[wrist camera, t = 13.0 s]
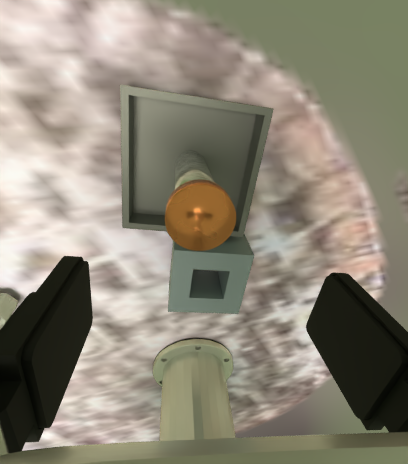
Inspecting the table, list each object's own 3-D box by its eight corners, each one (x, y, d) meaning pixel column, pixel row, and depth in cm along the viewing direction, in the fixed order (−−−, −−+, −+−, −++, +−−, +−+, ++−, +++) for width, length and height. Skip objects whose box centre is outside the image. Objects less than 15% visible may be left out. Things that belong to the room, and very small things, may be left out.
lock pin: (207, 188, 26) (229, 252, 15) (168, 184, 25) (162, 248, 15) (213, 148, 24) (242, 190, 13) (172, 143, 24) (167, 182, 13)
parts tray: (237, 224, 29) (242, 237, 26) (127, 215, 27) (122, 227, 25) (262, 107, 23) (273, 108, 21) (127, 86, 22) (120, 84, 19)
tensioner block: (230, 284, 33) (238, 313, 29) (169, 282, 32) (168, 311, 28) (242, 231, 30) (254, 255, 25) (174, 226, 28) (173, 250, 24)
